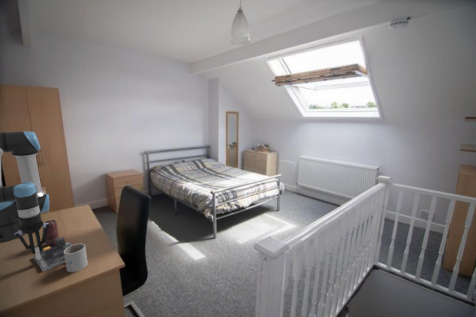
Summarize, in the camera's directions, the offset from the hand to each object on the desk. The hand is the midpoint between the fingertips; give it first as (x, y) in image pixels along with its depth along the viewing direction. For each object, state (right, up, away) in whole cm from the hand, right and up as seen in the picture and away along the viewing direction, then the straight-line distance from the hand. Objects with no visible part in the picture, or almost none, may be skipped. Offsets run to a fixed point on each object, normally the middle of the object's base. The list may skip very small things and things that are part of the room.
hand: (38, 258), depth 111 cm
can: (-7, 0, +18) cm, 19 cm away
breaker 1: (+2, +1, +12) cm, 12 cm away
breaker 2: (+11, -1, +6) cm, 12 cm away
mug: (+19, -4, +1) cm, 19 cm away
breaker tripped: (+2, -1, +3) cm, 4 cm away
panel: (+4, -2, +7) cm, 8 cm away
